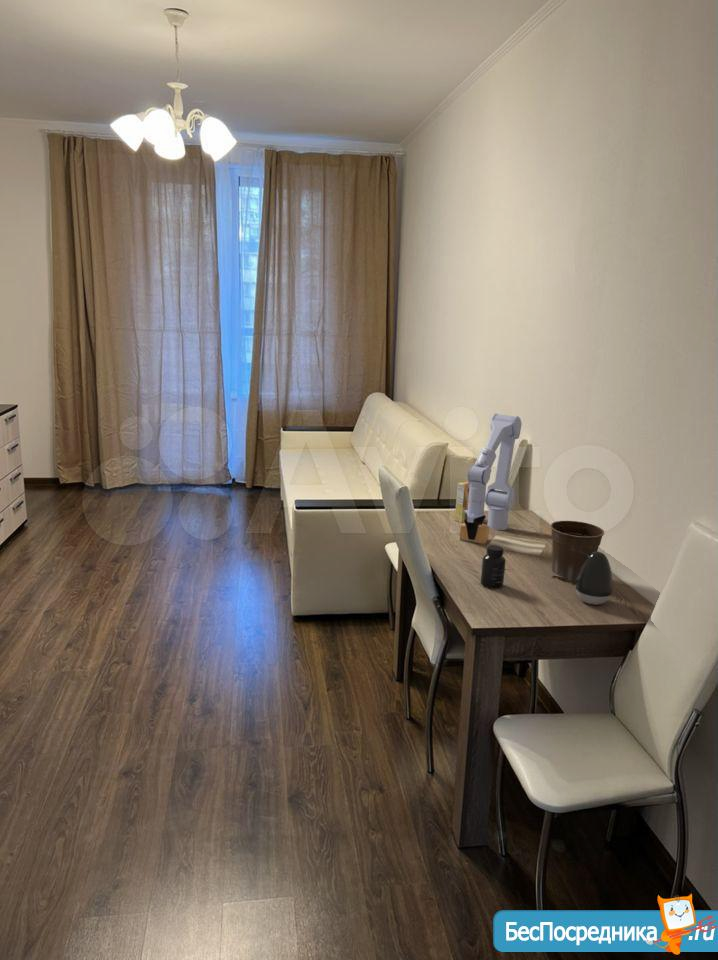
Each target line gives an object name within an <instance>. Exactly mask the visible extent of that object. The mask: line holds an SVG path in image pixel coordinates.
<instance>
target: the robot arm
mask: <svg viewBox="0 0 718 960" xmlns="http://www.w3.org/2000/svg"><path fill="white" fill-rule="evenodd" d="M522 426H523V425H522V420H521V417H520V416H517V415H516V416H513V415H507V414H499V413H494V414H493V415H492V416H491V419H490V434H489V438H488V441H487V444H486V445H485V447H484V448H482V449H481V450H480V452H479V454H478V456H477V459H476V461H475V463H474V464H473V466H470V467H469V469H468V471H467V475H466V477H467V481H468V486H469V499H468V510H465V511H464V513H467V516H468V519H464V522H463V523H465V525H466V528H467V533H468V539H471V540H474V539H475V537H476V533H477V529H478V526H479V525H483V523H484V521H485V519H486V517H487V524H486V526H489V530H493V531H505V530H507V529H509V530H510V527H509V526H508V524H509V516H510V515H509V513H510V512H509V510H510V509H511V508H512V509H513V506H514V504H515V489H514V487H513V486H511V484H510V483H509V479H510V474H511V468H512V461H513V454H514V449H515V442H516V440H518V439H520V435H521V431H522ZM499 445H500V446H499ZM498 448H499V452H498V453H499V454H498V459H497V466H496V473H495V478H494V482H492V483H491V484H488V483H489V481H490V479H491V474H492V473H491V472H492V467H493V465H494V462H495V460H496V458H497V453H496V452H497V449H498ZM487 484H488V486H487ZM485 506H487V509H488V513H487V514H488V515H487V516H486V515H485Z"/></svg>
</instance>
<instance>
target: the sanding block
mask: <svg viewBox="0 0 718 960" xmlns="http://www.w3.org/2000/svg"><path fill="white" fill-rule="evenodd" d="M489 532H490V528H489V526H487V525H483V524H482V525H479V526H478V529H477V533H476V537H475V539H474V540H471V539H468V533H467V528H466V525H465V523H464V522H463V523H462V524H461V525H460V531H459V541H464V542H468V543H475V544H482V545H485V544H486V543H487V542H488V540H489V535H490V533H489Z"/></svg>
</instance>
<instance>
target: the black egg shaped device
mask: <svg viewBox="0 0 718 960" xmlns="http://www.w3.org/2000/svg"><path fill="white" fill-rule="evenodd" d="M579 554H580V555H581V556H582V557H584V558H585V559H586V560H585V561H584V563H583V565H582V567H581V569H580V571H579V574H578V577H577V581H576V583H575V589H576V593H577V596H578V598H579V599H580V600H581V601H582V602H583V603H585V604H587V605H591V604H593V605H592V606H595V605H596V606H599V605H602V604H605V603H607V602H608V600H610V597H611V595H612V594H613V589H614V587H613V582H614V580H613V573H612V567H611V564H610V561H609V558H608V557H607V556H606V555H607V554H605V553H603V552H601V551H596V552H592V553H591V554H590V555H588V554H586V553H584V552H582V551H580V552H579Z"/></svg>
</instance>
